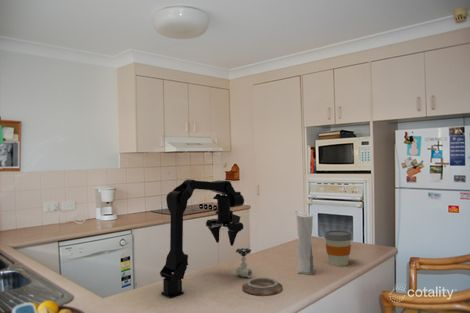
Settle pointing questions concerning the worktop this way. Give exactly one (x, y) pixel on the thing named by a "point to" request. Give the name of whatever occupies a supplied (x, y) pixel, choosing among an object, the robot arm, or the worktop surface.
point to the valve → (243, 264)
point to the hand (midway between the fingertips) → (224, 244)
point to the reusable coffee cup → (338, 247)
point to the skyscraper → (305, 244)
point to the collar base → (262, 286)
